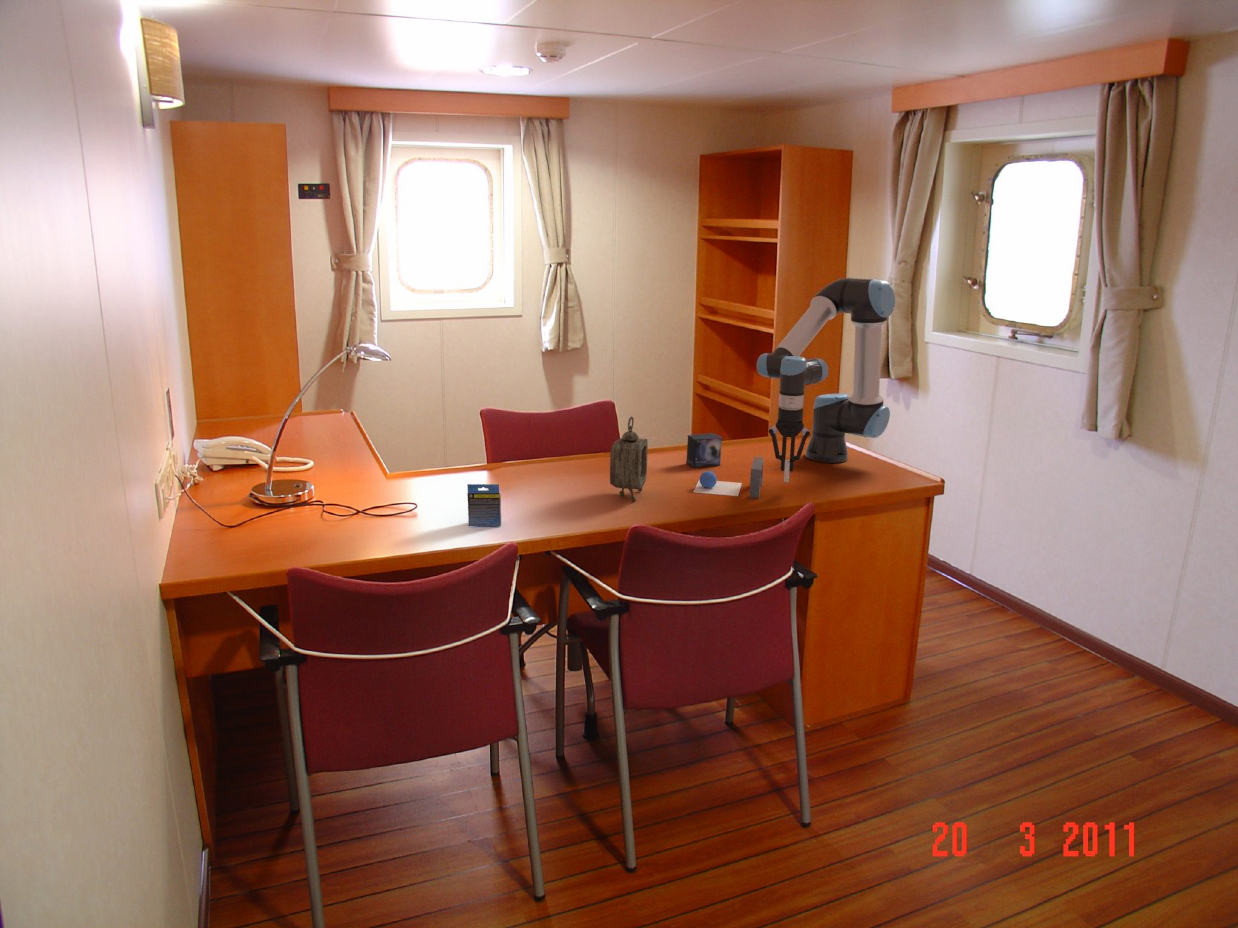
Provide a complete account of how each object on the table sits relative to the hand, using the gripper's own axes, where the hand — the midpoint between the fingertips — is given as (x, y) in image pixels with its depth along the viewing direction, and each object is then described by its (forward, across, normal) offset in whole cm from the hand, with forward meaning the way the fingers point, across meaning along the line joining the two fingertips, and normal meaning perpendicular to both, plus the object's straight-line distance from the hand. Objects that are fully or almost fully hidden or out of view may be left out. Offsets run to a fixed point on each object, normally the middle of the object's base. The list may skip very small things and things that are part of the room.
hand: (786, 480), depth 280 cm
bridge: (+4, -9, 0) cm, 10 cm away
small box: (+5, -29, +26) cm, 39 cm away
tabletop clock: (+4, -47, -16) cm, 50 cm away
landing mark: (+4, -21, 0) cm, 22 cm away
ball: (+1, -24, -1) cm, 24 cm away
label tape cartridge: (+3, -80, -52) cm, 96 cm away
